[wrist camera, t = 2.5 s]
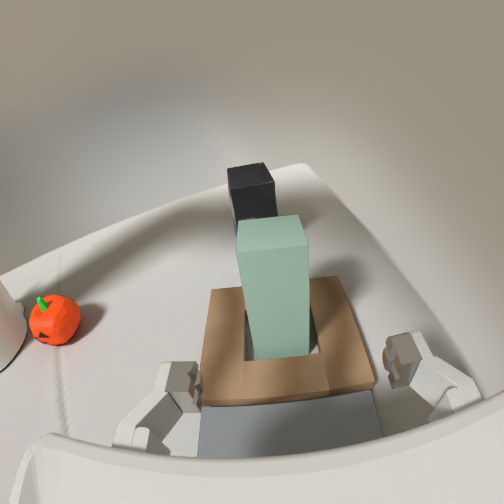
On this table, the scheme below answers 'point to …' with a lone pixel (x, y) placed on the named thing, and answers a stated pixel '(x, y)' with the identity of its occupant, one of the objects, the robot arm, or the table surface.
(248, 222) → the green block
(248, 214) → the small box
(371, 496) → the robot arm
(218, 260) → the table surface
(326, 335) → the pocket board
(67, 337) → the pumpkin
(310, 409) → the rubber mat
